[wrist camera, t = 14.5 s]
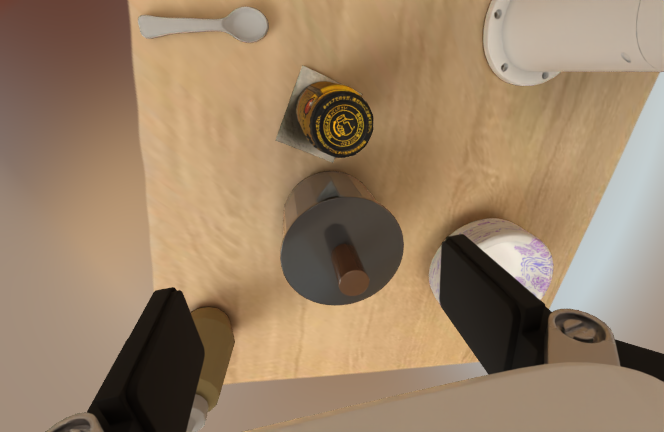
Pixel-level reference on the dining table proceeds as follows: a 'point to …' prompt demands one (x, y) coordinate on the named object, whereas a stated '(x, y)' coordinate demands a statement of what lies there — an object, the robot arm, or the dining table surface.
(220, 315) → the squeeze bottle
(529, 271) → the paper bowls
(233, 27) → the spoon
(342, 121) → the condiment
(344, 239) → the lid
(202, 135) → the dining table surface
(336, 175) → the pot
